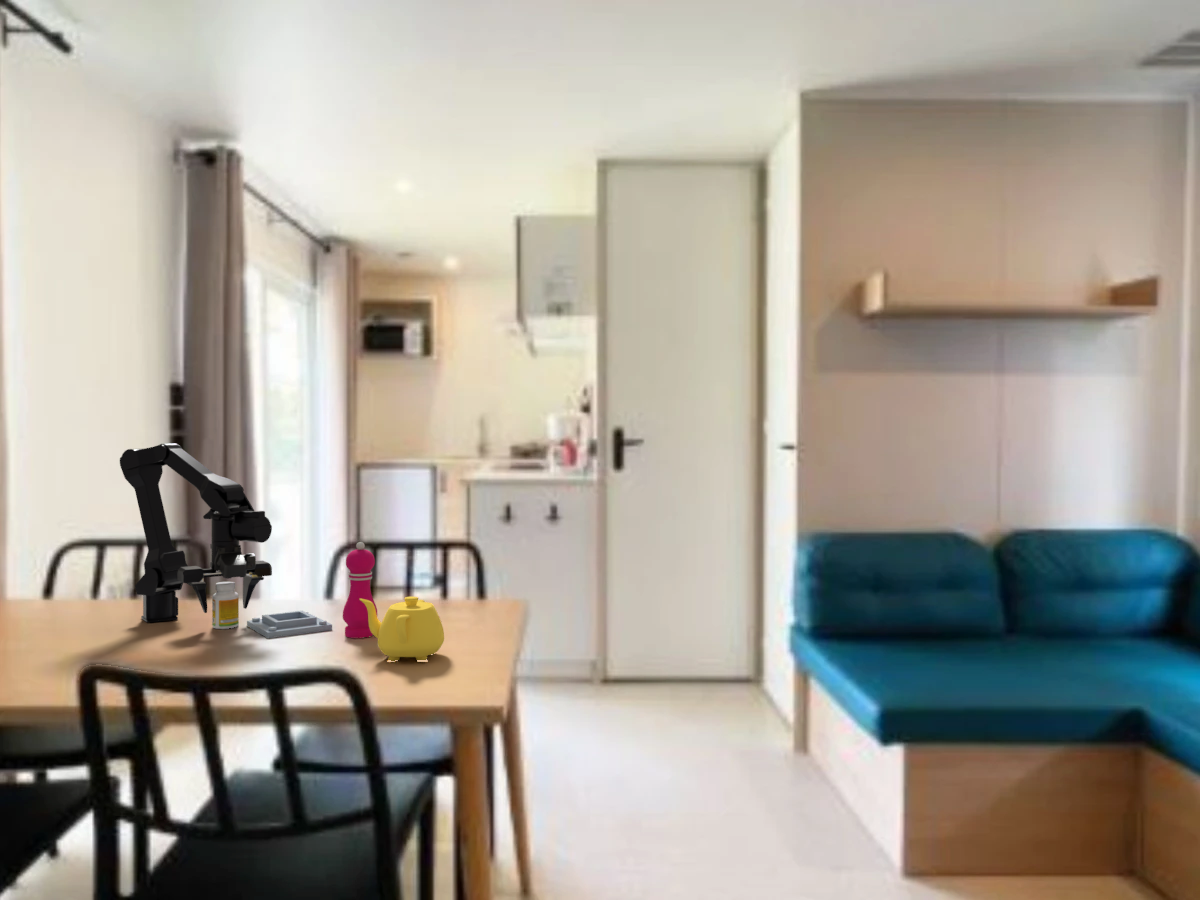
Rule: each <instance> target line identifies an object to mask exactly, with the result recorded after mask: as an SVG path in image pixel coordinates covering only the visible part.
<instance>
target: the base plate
mask: <svg viewBox="0 0 1200 900" xmlns="http://www.w3.org/2000/svg"><path fill="white" fill-rule="evenodd" d="M246 627H248V628H249V627H250V629H251V630H253V631H254V630H255V631H254V632H256V633H258V634H260V635H262V636H264V637H265V638H266V639H273V638H279V637H287V636H288V637H289V636H296V635H303V634H311V633H312V634H313V633H319V632H327V631H333V624H332V623H330V622H328V621H327V620H324V619H321V618H320V617H317V616H315V615H313V614H311V613H309V612H308V611H304V610H294V611H286V612H278V613H269V614H268V613H267V614H262V615H261V618H260V617H253V618H251V619H249V620H246Z"/></svg>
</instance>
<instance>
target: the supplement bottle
mask: <svg viewBox="0 0 1200 900" xmlns="http://www.w3.org/2000/svg"><path fill="white" fill-rule="evenodd" d="M235 589H236V582H235V581H220V582H216V583H215V591H216V592H215V593H214V594H212V597H211V599H212V600H211V603H212V607H211V608H212V610H211V611H212V612H211V613H212V614H211V615H212V617H211V618H212V619H211V620H212V622H211V623H212V628H213V629H217V630H228V629H229V628H231V629H235V628H237V627H238V626H239V624H240V622H239V620H240V619H239V618H240V617H239V613H240V612H239V609H240V608H239V606H240V605H239V601H240V600H239V593H238V592H237V591H235ZM234 627H235V628H234ZM229 630H230V629H229Z"/></svg>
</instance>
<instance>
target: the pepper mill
mask: <svg viewBox="0 0 1200 900" xmlns="http://www.w3.org/2000/svg"><path fill="white" fill-rule="evenodd" d="M355 547H356V549H353V550H351V551H350V552H349V553H348V554H347V556H346V558H345V565H346V568H347V569H348V570H349V572H348V573H347V574H348V577H347V579H348V580H349V583H350V585H349V586H350V587H349V593H348V597H347V600H346V602H345V604H344V607H343V610H342V619H343V621H344V623H346V625H347V626H345V627H344V636H345V637H346V638H349V639H364V638H363V637H367V638H370V637H369V636H371V637H373V636H372V635H373V634H372V632H371V631H370V628H369V622H368V610H367V607H366V605H365V604H364V603H363V602H362V601H361V600H360V599H366V600H369V601H371V602H372V603H373V604H374V606H375V610H376V615H377V616H378V609H377V604H376V602H375V600H374V598H373V595H372V591H371V580H372V579H373V571H372V569H373V568H374V567H375V562H376V560H375V556H374V554H373V552H371V551H370V550H368V549H365V543H364V542H363V541H359V542H357V543H356V545H355Z"/></svg>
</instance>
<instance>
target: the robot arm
mask: <svg viewBox="0 0 1200 900" xmlns="http://www.w3.org/2000/svg"><path fill="white" fill-rule="evenodd" d="M119 466H120V469H121V472H122V475H123V477H124V479H125V480H126V482H128V483H129V485H130V486H131V487H132V488H133V489H134V492H135V496H136V501H137V504H138V510H139V514H140V519H141V523H142V527H143V531H144V537H145V540H146V545H147V546H146V547H147V549H148V552H147V554H146V556H145V560H144V562H143V567H144V573H143V575H142V576H141V578H139V580H138V581H137V582H136V583H135V585H134V588H135V592H136V595H138V596H139V595H140V596H142V609H143V610H142V615H141V617H140V618H141V619H142V620H143V621H144V622H145V623H156V622H167V621H173V620H179V617H178V616H179V597H177V595H176V594H177V593H176V592H177V591H181V590H182V588H183V585H184V584H186V585H189V586H190V587H192V588H193V590H194V592H195V594H196V597H197V598H198V601H199V603H200V606H201V609H202V610H203V613H204V614H207V613H208V600H207V582H205V581H204V578H205V579H206V578H213V577H223V578H224V579H229V580H230V579H232V578H243V579H242V581H243V582H242V607H243V609H247V608H248V606H249V603H250V600H251V597H252V595H253V593H254V589H255V587H256V585H258V583H259V582H260V581H263V580H264V579H265V577H270V576H273V567H272V565H271V564H270V563H269V562H267V561H265V560H257V559H256V558H257V557H256V555H255V553H253V552H252V553H249V552H248V553H245V554H243V553H242V547H241V544H240V542H249V543H250V542H251V543H260V544H261V543H266V542H267V541H268V540H269V539H270V537H271V535H272V532H273V531H272V530H273V529H272V528H273V526H272V524H271V521H270V519H269V518H268V517H267V516H266V511H265V510H255V509H254V507H253V505H252V504H251V502H250V501H249V498H248V497H247V495H246V494H245V492H244V491H245V490H244V487H243V486H242V485H241V484H240V483H239V482H236V481H234V480H233V479H230V478H227V477H224V476H221V475H219V474H216V473H214V472H213V471H211V469H209V468H207V467H206V466H205V465H203V464H202V463H201V462H200V461H199V460H197V459H195V457H194V456H192V455H190V453H188V452H187V451H185V450H184V449H183V448H182V446H181V445H179V444H178V443H160V444H158V445H157V444H156V445H154V446H151V447H146V448H129V449H126V450H124V452H123V453H122V455H121V457H120V458H119ZM163 466H168V467H169V468H170V469H172V470H173V471H174V472H176V473H177V475H179V476H180V477H182V478H183V479H185V480H186V481H187V482H188V483H189V484H190V485H192V486H193V487H194V488H196V490H198V492H199V495H200V498H201V499H202V501H203V502H204V503H205V504H206V505H207V507H209V508H210V509H209V511H208V512H206V513H205V514H204V515H203V518H202V519H203V520H210V521H211V529H210V530H211V539H210V540H211V543H210V549H211V551H210V553H211V560H210V565H209V566H210V567H209V568H202V567H200V566H198V565H192V566H191V565H189V566H188V564H187V561H186V554H185V552H184V550H177V549H176V548H175V547H174V546H173V544H172V539H171V535H170V530H169V526H168V521H167V516H166V512H165V509H164V508H165V507H164V504H163V499H162V494H161V490H160V486H159V483H160V481H161V477H162V475H163V473H164V472H163Z"/></svg>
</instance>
